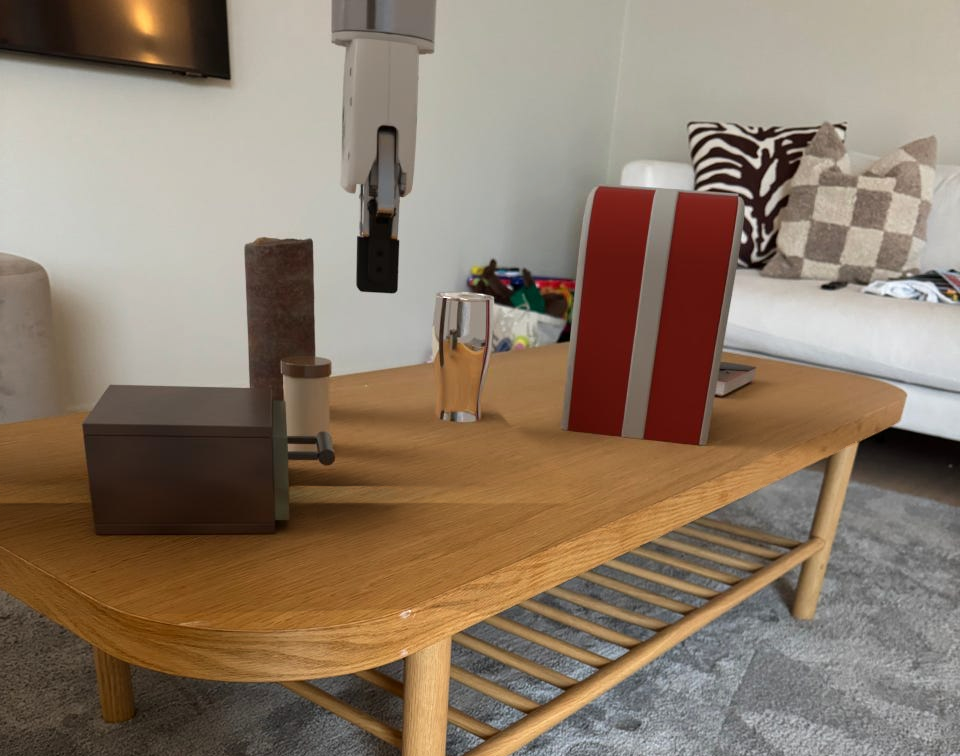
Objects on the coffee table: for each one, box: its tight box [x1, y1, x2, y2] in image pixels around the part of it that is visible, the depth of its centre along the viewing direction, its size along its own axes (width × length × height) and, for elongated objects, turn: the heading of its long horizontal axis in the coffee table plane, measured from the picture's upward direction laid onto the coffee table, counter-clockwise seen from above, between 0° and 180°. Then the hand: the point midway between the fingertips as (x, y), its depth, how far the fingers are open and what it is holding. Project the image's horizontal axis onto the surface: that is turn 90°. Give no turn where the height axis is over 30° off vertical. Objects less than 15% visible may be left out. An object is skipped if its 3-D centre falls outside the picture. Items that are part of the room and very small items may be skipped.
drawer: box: [272, 401, 336, 521], centre depth 81 cm, size 16×13×7 cm
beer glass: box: [431, 291, 495, 423], centre depth 109 cm, size 7×7×15 cm
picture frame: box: [715, 361, 757, 398], centre depth 150 cm, size 16×2×22 cm
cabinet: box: [81, 384, 276, 536], centre depth 81 cm, size 14×14×9 cm
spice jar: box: [281, 356, 333, 452], centre depth 94 cm, size 5×5×10 cm
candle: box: [243, 236, 316, 401], centre depth 104 cm, size 8×7×20 cm
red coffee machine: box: [560, 183, 746, 446], centre depth 116 cm, size 16×18×27 cm
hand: (376, 290), depth 77 cm, fingers closed
